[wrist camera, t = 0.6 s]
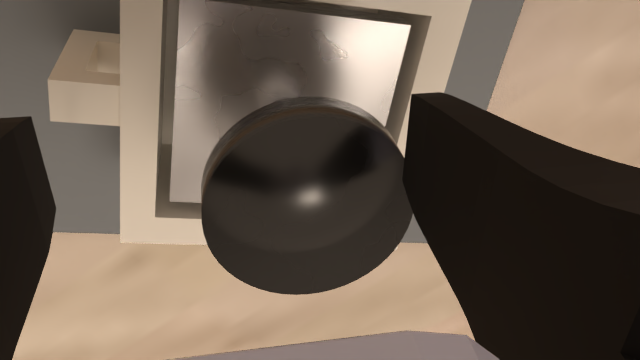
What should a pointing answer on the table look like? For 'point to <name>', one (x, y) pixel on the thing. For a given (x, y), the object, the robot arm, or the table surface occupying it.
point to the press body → (159, 96)
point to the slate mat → (104, 140)
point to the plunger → (290, 139)
